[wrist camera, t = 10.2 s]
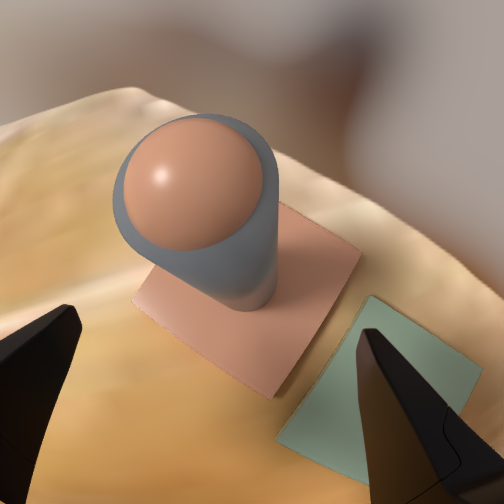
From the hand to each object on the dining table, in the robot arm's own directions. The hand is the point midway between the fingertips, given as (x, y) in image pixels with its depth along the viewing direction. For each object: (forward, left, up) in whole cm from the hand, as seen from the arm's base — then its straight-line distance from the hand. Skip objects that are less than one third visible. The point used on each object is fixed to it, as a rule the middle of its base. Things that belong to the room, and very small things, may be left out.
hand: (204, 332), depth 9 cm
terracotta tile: (+3, -2, -11) cm, 12 cm away
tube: (+3, -2, -10) cm, 11 cm away
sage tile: (-9, -7, -11) cm, 16 cm away
